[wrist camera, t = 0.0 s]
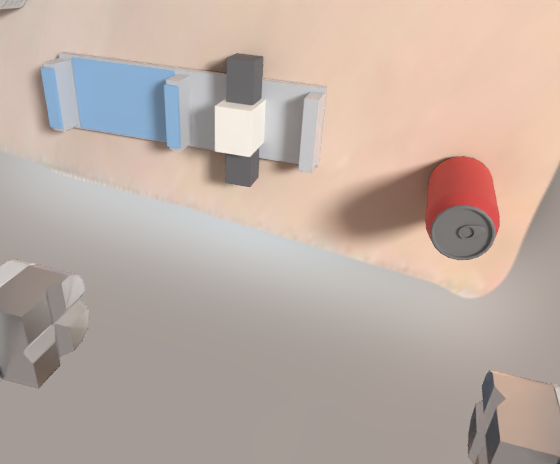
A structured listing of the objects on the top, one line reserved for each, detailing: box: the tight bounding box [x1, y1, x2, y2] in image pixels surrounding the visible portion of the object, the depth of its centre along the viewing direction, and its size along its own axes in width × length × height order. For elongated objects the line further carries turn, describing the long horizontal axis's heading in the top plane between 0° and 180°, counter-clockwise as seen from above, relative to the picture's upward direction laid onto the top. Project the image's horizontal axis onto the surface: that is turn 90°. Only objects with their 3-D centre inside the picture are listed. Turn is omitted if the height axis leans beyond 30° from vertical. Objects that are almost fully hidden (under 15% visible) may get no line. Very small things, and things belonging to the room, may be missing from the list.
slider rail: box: [40, 52, 327, 173], centre depth 59 cm, size 9×32×4 cm, turn 86°
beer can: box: [425, 156, 500, 260], centre depth 51 cm, size 7×7×12 cm
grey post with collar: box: [215, 53, 266, 187], centre depth 57 cm, size 14×4×5 cm, turn 176°
